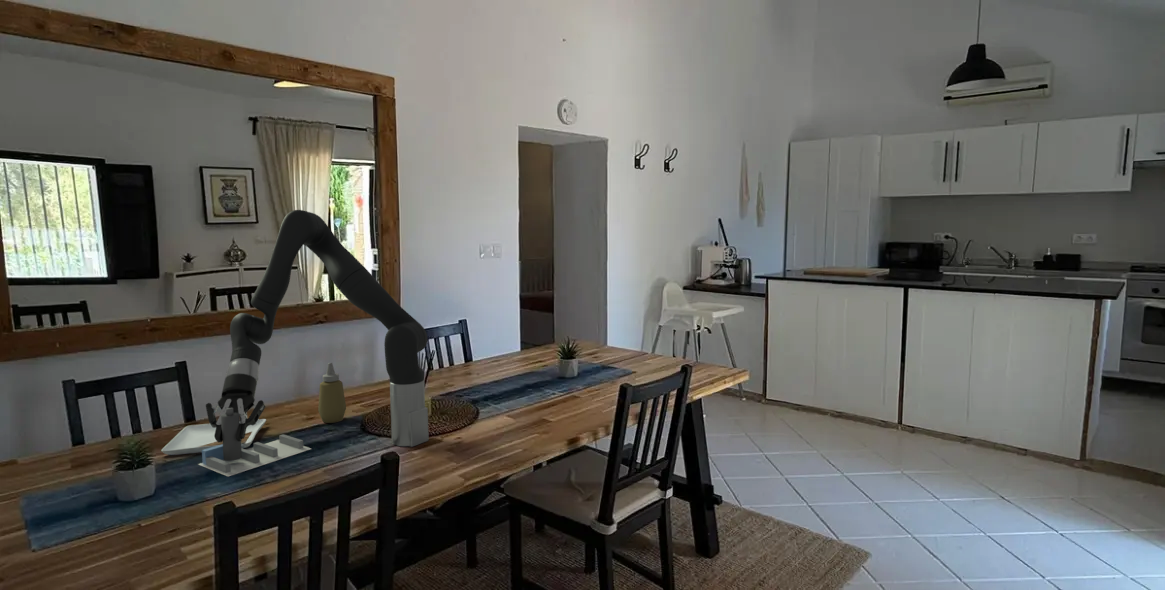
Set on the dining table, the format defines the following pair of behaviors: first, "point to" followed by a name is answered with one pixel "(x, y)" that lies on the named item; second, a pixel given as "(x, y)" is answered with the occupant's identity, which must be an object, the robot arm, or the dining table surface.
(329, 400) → the squeeze bottle
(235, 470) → the divider rack
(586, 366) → the dining table surface
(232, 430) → the dark grey bottle
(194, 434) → the salad plate
